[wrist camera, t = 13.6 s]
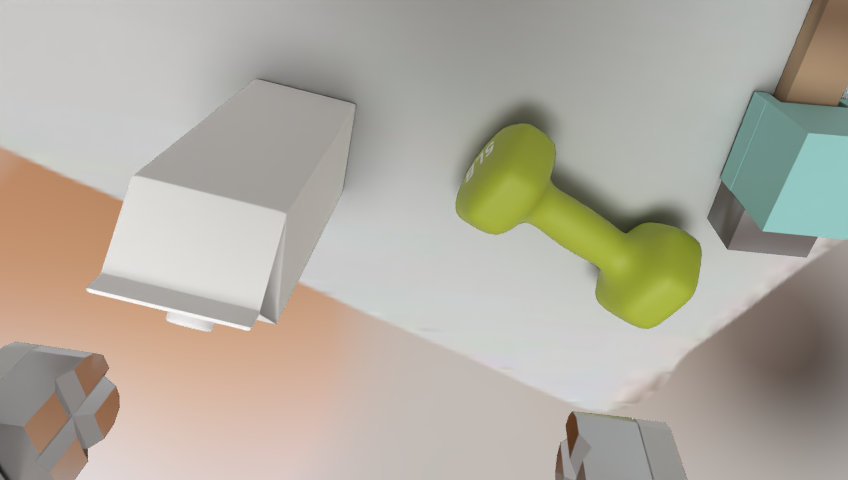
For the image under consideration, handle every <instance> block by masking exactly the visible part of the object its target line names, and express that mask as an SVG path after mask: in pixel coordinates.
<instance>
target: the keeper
mask: <svg viewBox="0 0 848 480" xmlns="http://www.w3.org/2000/svg"><path fill="white" fill-rule="evenodd" d="M720 179H721V180H722V181H723V182H724V184H725V185H726V186H727V188H728V189H729V190H730V191H731V192H732V193H733V194H734V196H735V197H736V198H737V199H738V201H739V202H740V203H741V205H742V206H743V207H744V208H745V210H746V211H747V212H748V214H749V215H750V216H751V217H752V219H753V220H754V221H755V223H756V224H757V225H758V226H759V228H760V229H761V230H762V231H765V232H775V233H785V234H795V235H806V236H816V237H826V238H836V239H847V240H848V99H840V101H839V103H838V105H837V107H832V106H820V105H808V104H796V103H785V102H780V101H778V100H777V99H776V98H774V97H773V96H772V95H770V94H769V93H767V92H754V94H753V97H752V99H751V102H750V104H749V107H748V109H747V112H746V114H745V117H744V119H743V122H742V124H741V127H740V130H739V132H738V135H737V137H736V140H735V142H734V145H733V147H732V150H731V152H730V155H729V157H728V160H727V162H726V165H725V167H724V170H723V173H722V175H721V178H720Z"/></svg>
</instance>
